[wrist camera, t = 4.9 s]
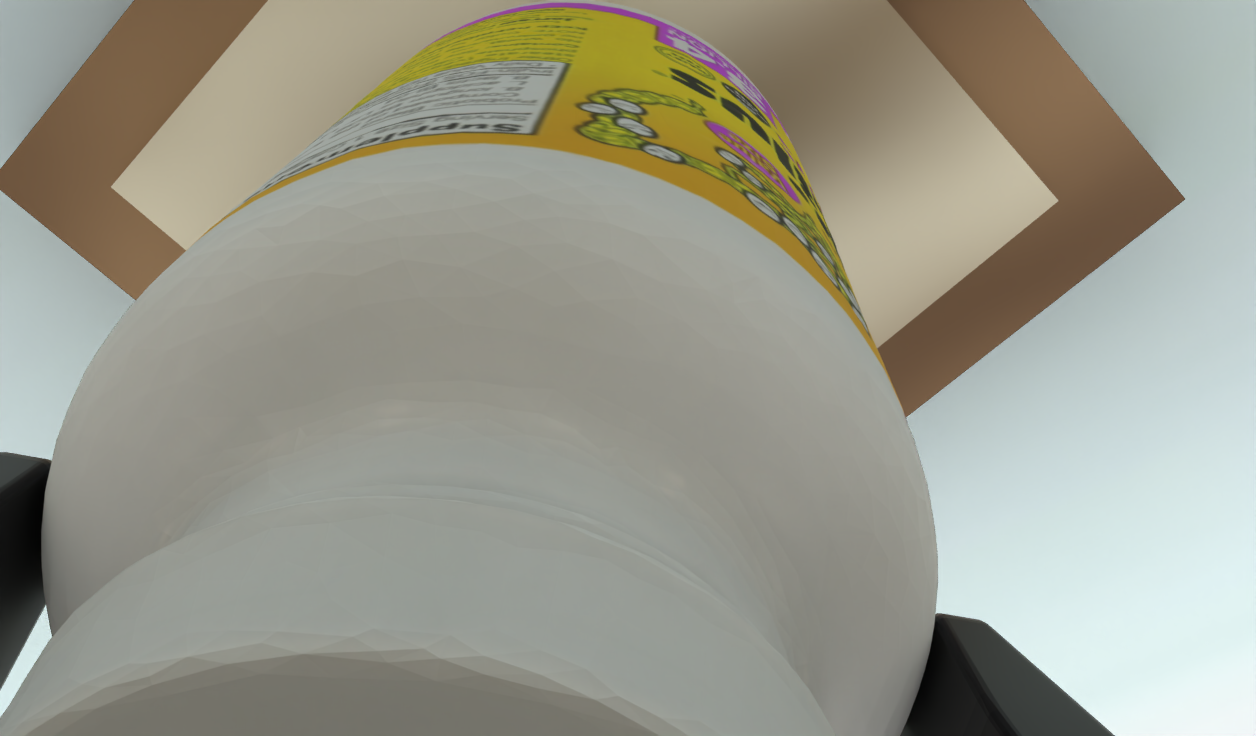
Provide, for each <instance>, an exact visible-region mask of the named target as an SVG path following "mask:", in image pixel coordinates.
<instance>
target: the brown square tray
mask: <svg viewBox="0 0 1256 736" xmlns="http://www.w3.org/2000/svg"><path fill="white" fill-rule="evenodd" d="M542 1H550V0H134V1H133V2H132V4H131V5H130V6H129V8H128V9H127V10H126V11H125V13H124V14H123V15H122V16H121V18H120V19H119V20H118V21H117V23H116V24H115V25H114V26H113V28H112V29H111V30H110V31H109V33H108V34H107V35H106V37H105V38H104V39H103V40H102V42H101V43H100V44H99V45H98V47H97V48H96V49H95V50H94V52H93V53H92V54H91V55H90V57H89V58H88V59H87V60H86V62H85V63H84V64H83V66H82V67H81V68H80V69H79V71H78V72H77V73H76V74H75V76H74V77H73V78H72V79H71V81H70V82H69V83H68V84H67V86H66V87H65V88H64V90H63V91H62V92H61V93H60V95H59V96H58V97H57V98H56V100H55V101H54V102H53V103H52V105H51V106H50V107H49V108H48V110H47V111H46V112H45V113H44V115H43V116H42V117H41V119H40V120H39V121H38V122H37V124H36V125H35V126H34V127H33V129H32V130H31V131H30V132H29V134H28V135H27V136H26V137H25V139H24V140H23V141H22V142H21V144H20V145H19V146H18V148H17V149H16V150H15V151H14V153H13V154H12V155H11V156H10V158H9V159H8V160H7V161H6V163H5V164H4V165H3V166H2V168H1V169H0V190H1V191H2V192H3V193H5V194H6V195H7V196H8V197H10V198H11V199H12V200H13V201H14V202H16V203H17V204H18V205H19V206H21V207H22V208H23V209H24V210H25V211H27V212H28V213H29V214H30V215H32V216H33V217H34V218H35V219H37V220H38V221H39V222H40V223H41V224H43V225H44V226H45V227H46V228H48V229H49V230H50V231H51V232H53V233H54V234H55V235H56V236H57V237H59V238H60V239H61V240H62V241H64V242H65V243H66V244H67V245H68V246H70V247H71V248H72V249H73V250H75V251H76V252H77V253H78V254H80V255H81V256H82V257H83V258H84V259H86V260H87V261H88V262H89V263H91V264H92V265H93V266H94V267H95V268H97V269H98V270H99V271H100V272H102V273H103V274H104V275H105V276H107V277H108V278H109V279H110V280H111V281H113V282H114V283H115V284H116V285H118V286H119V287H120V288H121V289H123V290H124V291H125V292H126V293H127V294H129V295H130V296H131V297H132V298H134V299H135V300H137V299H138V298H139V296H140V295H141V294H142V293H143V292H144V291H145V290H146V289H147V288H148V286H149V285H150V284H151V283H152V282H153V281H155V280H156V279H157V278H158V277H159V276H160V275H161V274H162V273H163V272H164V271H165V270H166V269H167V268H168V267H169V266H170V265H171V264H172V263H174V262H175V261H176V260H177V259H178V258H179V257H180V256H181V255H182V254H183V253H184V252H185V251H186V250H187V249H188V248H190V247H191V246H192V245H193V244H194V243H195V242H196V241H197V240H198V239H199V238H200V237H201V236H202V235H203V234H204V233H206V232H207V231H208V230H209V229H210V228H211V227H212V226H214V225H215V224H216V223H218V222H219V221H220V220H221V219H222V218H224V217H225V216H226V215H227V214H228V213H229V212H230V211H231V210H232V209H233V208H235V207H236V206H238V205H239V204H240V203H241V202H243V201H244V200H245V199H246V198H247V197H248V196H250V195H251V194H252V193H253V192H255V191H256V190H257V189H258V188H260V187H261V186H262V185H263V184H264V183H266V182H267V181H268V180H269V179H270V178H272V177H273V176H274V175H275V174H276V173H278V172H279V171H280V170H281V169H282V168H283V167H285V166H286V165H287V164H288V163H289V162H291V161H292V160H293V159H294V158H295V157H297V156H298V155H299V154H300V153H301V152H302V151H304V150H305V149H306V148H307V147H308V146H309V145H310V144H311V143H312V142H314V141H315V140H316V139H317V138H318V137H319V136H321V135H322V134H323V133H324V132H325V131H326V130H327V129H329V128H330V127H331V126H332V125H333V124H334V123H336V122H337V121H338V120H339V119H340V118H341V117H343V116H344V115H345V114H346V113H347V112H349V111H350V110H351V109H352V108H353V107H354V106H355V105H356V104H357V103H358V102H359V101H361V100H362V99H363V98H364V97H365V96H367V95H368V94H369V93H370V92H372V91H373V90H374V89H375V88H376V87H377V86H378V85H380V84H381V83H382V82H383V81H384V80H385V79H386V78H388V77H389V76H390V75H391V74H392V73H393V72H395V71H396V70H397V69H398V68H400V67H401V66H402V65H403V64H404V63H406V62H407V61H408V60H409V59H411V58H412V57H413V56H414V55H416V54H417V53H418V52H420V51H421V50H422V49H424V48H425V47H426V46H428V45H429V44H431V43H432V42H434V41H436V40H437V39H439V38H440V37H442V36H443V35H445V34H447V33H449V32H451V31H453V30H455V29H457V28H459V27H461V26H463V25H465V24H467V23H469V22H472V21H474V20H476V19H479V18H481V17H484V16H486V15H488V14H491V13H493V12H497V11H500V10H504V9H508V8H511V7H515V6H519V5H523V4H528V3H535V2H542ZM592 1H601V2H608V3H613V4H618V5H623V6H627V7H631V8H635V9H639V10H641V11H644V12H647V13H650V14H653V15H655V16H658V17H661V18H663V19H666V20H668V21H670V22H672V23H674V24H676V25H678V26H680V27H682V28H684V29H686V30H688V31H690V32H692V33H693V34H695V35H697V36H698V37H700V38H702V39H703V40H705V41H706V42H708V43H709V44H711V45H712V46H713V47H715V48H716V49H717V50H719V51H720V52H721V53H722V54H724V55H725V56H726V57H727V58H728V59H729V60H731V61H732V62H733V63H734V64H735V65H736V66H737V67H738V68H739V69H740V70H741V71H742V72H743V73H744V74H745V75H746V76H747V77H748V78H749V79H750V80H751V82H752V83H753V84H754V85H755V86H756V87H757V89H758V90H759V91H760V92H761V94H762V95H763V96H764V98H765V99H766V100H767V101H768V103H769V104H770V106H771V108H772V109H773V111H774V112H775V114H776V115H777V117H778V119H779V120H780V122H781V123H782V125H783V127H784V129H785V130H786V132H787V134H788V136H789V138H790V140H791V142H792V144H793V146H794V148H795V150H796V153H797V155H798V157H799V159H800V162H801V164H802V166H803V168H804V170H805V172H806V175H807V177H808V180H809V182H810V184H811V187H812V189H813V192H814V194H815V197H816V199H817V202H818V203H819V205H820V207H821V210H822V213H823V216H824V219H825V221H826V224H827V226H828V228H829V230H830V233H831V235H832V237H833V240H834V242H835V245H836V247H837V251H838V254H839V256H840V258H841V261H842V263H843V266H844V269H845V272H846V274H847V277H848V279H849V281H850V283H851V286H852V289H853V292H854V294H855V297H856V299H857V302H858V304H859V307H860V309H861V312H862V314H863V317H864V319H865V322H866V324H867V327H868V329H869V332H870V334H871V336H872V338H873V341H874V343H875V345H876V347H877V350H878V352H879V354H880V356H881V359H882V361H883V363H884V365H885V368H886V370H887V372H888V375H889V377H890V380H891V382H892V384H893V387H894V389H895V391H896V394H897V396H898V398H899V401H900V403H901V405H902V408H903V411H904V414H905V417H907V416H908V415H910V414H911V413H912V412H914V411H915V410H916V409H917V408H919V407H920V406H921V405H922V404H924V403H925V402H926V401H928V400H929V399H930V398H931V397H933V396H934V395H935V394H937V393H938V392H939V391H940V390H942V389H943V388H944V387H946V386H947V385H948V384H949V383H951V382H952V381H953V380H954V379H956V378H957V377H958V376H960V375H961V374H962V373H963V372H965V371H966V370H967V369H969V368H970V367H971V366H972V365H974V364H975V363H976V362H978V361H979V360H980V359H981V358H983V357H984V356H985V355H987V354H988V353H989V352H990V351H992V350H993V349H994V348H995V347H997V346H998V345H999V344H1001V343H1002V342H1003V341H1004V340H1006V339H1007V338H1008V337H1010V336H1011V335H1012V334H1013V333H1015V332H1016V331H1017V330H1019V329H1020V328H1021V327H1022V326H1024V325H1025V324H1026V323H1027V322H1029V321H1030V320H1031V319H1033V318H1034V317H1035V316H1036V315H1038V314H1039V313H1040V312H1042V311H1043V310H1044V309H1045V308H1047V307H1048V306H1049V305H1051V304H1052V303H1053V302H1054V301H1056V300H1057V299H1058V298H1059V297H1061V296H1062V295H1063V294H1065V293H1066V292H1067V291H1068V290H1070V289H1071V288H1072V287H1074V286H1075V285H1076V284H1077V283H1079V282H1080V281H1081V280H1083V279H1084V278H1085V277H1086V276H1088V275H1089V274H1090V273H1092V272H1093V271H1094V270H1095V269H1097V268H1098V267H1099V266H1100V265H1102V264H1103V263H1104V262H1106V261H1107V260H1108V259H1109V258H1111V257H1112V256H1113V255H1115V254H1116V253H1117V252H1118V251H1120V250H1121V249H1122V248H1124V247H1125V246H1126V245H1127V244H1129V243H1130V242H1131V241H1132V240H1134V239H1135V238H1136V237H1138V236H1139V235H1140V234H1141V233H1143V232H1144V231H1145V230H1147V229H1148V228H1149V227H1150V226H1152V225H1153V224H1154V223H1156V222H1157V221H1158V220H1159V219H1161V218H1162V217H1163V216H1164V215H1166V214H1167V213H1168V212H1170V211H1171V210H1172V209H1173V208H1175V207H1176V206H1177V205H1179V204H1180V203H1181V202H1182V201H1184V200H1185V198H1184V197H1183V196H1182V194H1181V193H1180V192H1179V191H1178V189H1177V188H1176V187H1175V186H1174V185H1173V183H1172V182H1171V181H1170V180H1169V178H1168V177H1167V176H1166V175H1165V173H1164V172H1163V171H1162V170H1161V169H1160V167H1159V166H1158V165H1157V164H1156V162H1155V161H1154V160H1153V159H1152V157H1151V156H1150V155H1149V154H1148V152H1147V151H1146V150H1145V149H1144V148H1143V146H1142V145H1141V144H1140V143H1139V141H1138V140H1137V139H1136V138H1135V136H1134V135H1133V134H1132V133H1131V132H1130V130H1129V129H1128V128H1127V127H1126V125H1125V124H1124V123H1123V122H1122V120H1121V119H1120V118H1119V117H1118V116H1117V114H1116V113H1115V112H1114V111H1113V109H1112V108H1111V107H1110V106H1109V104H1108V103H1107V102H1106V101H1105V100H1104V98H1103V97H1102V96H1101V95H1100V93H1099V92H1098V91H1097V90H1096V88H1095V87H1094V86H1093V85H1092V83H1091V82H1090V81H1089V80H1088V79H1087V77H1086V76H1085V75H1084V74H1083V72H1082V71H1081V70H1080V69H1079V67H1078V66H1077V65H1076V64H1075V63H1074V61H1073V60H1072V59H1071V58H1070V56H1069V55H1068V54H1067V53H1066V51H1065V50H1064V49H1063V48H1062V47H1061V45H1060V44H1059V43H1058V42H1057V40H1056V39H1055V38H1054V37H1053V35H1052V34H1051V33H1050V32H1049V31H1048V29H1047V28H1046V27H1045V26H1044V24H1043V23H1042V22H1041V21H1040V19H1039V18H1038V17H1037V16H1036V14H1035V13H1034V12H1033V11H1032V10H1031V8H1030V7H1029V6H1028V5H1027V3H1026V2H1025V1H1024V0H592Z"/></svg>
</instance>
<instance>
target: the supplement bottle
mask: <svg viewBox="0 0 1256 736" xmlns="http://www.w3.org/2000/svg"><path fill="white" fill-rule="evenodd" d="M41 561H42V576H43V588H44V595H45V601H46V606H47V612H48V618H49V623H50V629H51V633H52V638H51V639H50V641H49V642H48V644H47V645H46V647H45V648H44V650H43V651H42V653H41V655H40V656H39V658H38V659H37V661H36V662H35V664H34V665H33V667H32V669H31V670H30V672H29V673H28V675H27V677H26V678H25V680H24V682H23V683H22V685H21V687H20V688H19V690H18V692H17V693H16V695H15V697H14V698H13V700H12V701H11V703H10V705H9V706H8V708H7V709H6V710H5V712H4V713H3V715H2V716H1V718H0V736H900V735H901V733H902V730H903V728H904V726H905V724H906V722H907V719H908V717H909V714H910V711H911V709H912V706H913V704H914V701H915V698H916V696H917V693H918V691H919V688H920V684H921V681H922V678H923V674H924V671H925V668H926V664H927V660H928V656H929V652H930V648H931V642H932V636H933V630H934V623H935V612H936V599H937V587H938V556H937V544H936V534H935V526H934V520H933V514H932V508H931V501H930V496H929V490H928V485H927V481H926V478H925V475H924V471H923V468H922V465H921V461H920V458H919V455H918V451H917V448H916V445H915V441H914V438H913V436H912V434H911V431H910V429H909V426H908V423H907V420H906V417H905V414H904V411H903V408H902V405H901V403H900V401H899V398H898V396H897V394H896V391H895V389H894V387H893V384H892V382H891V380H890V377H889V375H888V372H887V370H886V368H885V365H884V363H883V361H882V359H881V356H880V354H879V352H878V350H877V347H876V345H875V343H874V341H873V338H872V336H871V334H870V332H869V329H868V327H867V324H866V322H865V319H864V317H863V314H862V312H861V309H860V307H859V304H858V302H857V299H856V297H855V294H854V292H853V289H852V286H851V283H850V281H849V279H848V277H847V274H846V272H845V269H844V266H843V263H842V261H841V258H840V256H839V254H838V251H837V247H836V245H835V242H834V240H833V237H832V235H831V233H830V230H829V228H828V226H827V224H826V221H825V219H824V216H823V213H822V210H821V207H820V205H819V203H818V202H817V199H816V197H815V194H814V192H813V189H812V187H811V184H810V182H809V180H808V177H807V175H806V172H805V170H804V168H803V166H802V164H801V162H800V159H799V157H798V155H797V153H796V150H795V148H794V146H793V144H792V142H791V140H790V138H789V136H788V134H787V132H786V130H785V129H784V127H783V125H782V123H781V122H780V120H779V119H778V117H777V115H776V114H775V112H774V111H773V109H772V108H771V106H770V104H769V103H768V101H767V100H766V99H765V98H764V96H763V95H762V94H761V92H760V91H759V90H758V89H757V87H756V86H755V85H754V84H753V83H752V82H751V80H750V79H749V78H748V77H747V76H746V75H745V74H744V73H743V72H742V71H741V70H740V69H739V68H738V67H737V66H736V65H735V64H734V63H733V62H732V61H731V60H729V59H728V58H727V57H726V56H725V55H724V54H722V53H721V52H720V51H719V50H717V49H716V48H715V47H713V46H712V45H711V44H709V43H708V42H706V41H705V40H703V39H702V38H700V37H698V36H697V35H695V34H693V33H692V32H690V31H688V30H686V29H684V28H682V27H680V26H678V25H676V24H674V23H672V22H670V21H668V20H666V19H663V18H661V17H658V16H655V15H653V14H650V13H647V12H644V11H641V10H639V9H635V8H631V7H627V6H623V5H618V4H613V3H608V2H601V1H592V0H550V1H542V2H535V3H528V4H523V5H519V6H515V7H511V8H508V9H504V10H500V11H497V12H493V13H491V14H488V15H486V16H484V17H481V18H479V19H476V20H474V21H472V22H469V23H467V24H465V25H463V26H461V27H459V28H457V29H455V30H453V31H451V32H449V33H447V34H445V35H443V36H442V37H440V38H439V39H437V40H436V41H434V42H432V43H431V44H429V45H428V46H426V47H425V48H424V49H422V50H421V51H420V52H418V53H417V54H416V55H414V56H413V57H412V58H411V59H409V60H408V61H407V62H406V63H404V64H403V65H402V66H401V67H400V68H398V69H397V70H396V71H395V72H393V73H392V74H391V75H390V76H389V77H388V78H386V79H385V80H384V81H383V82H382V83H381V84H380V85H378V86H377V87H376V88H375V89H374V90H373V91H372V92H370V93H369V94H368V95H367V96H365V97H364V98H363V99H362V100H361V101H359V102H358V103H357V104H356V105H355V106H354V107H353V108H352V109H351V110H350V111H349V112H347V113H346V114H345V115H344V116H343V117H341V118H340V119H339V120H338V121H337V122H336V123H334V124H333V125H332V126H331V127H330V128H329V129H327V130H326V131H325V132H324V133H323V134H322V135H321V136H319V137H318V138H317V139H316V140H315V141H314V142H312V143H311V144H310V145H309V146H308V147H307V148H306V149H305V150H304V151H302V152H301V153H300V154H299V155H298V156H297V157H295V158H294V159H293V160H292V161H291V162H289V163H288V164H287V165H286V166H285V167H283V168H282V169H281V170H280V171H279V172H278V173H276V174H275V175H274V176H273V177H272V178H270V179H269V180H268V181H267V182H266V183H264V184H263V185H262V186H261V187H260V188H258V189H257V190H256V191H255V192H253V193H252V194H251V195H250V196H248V197H247V198H246V199H245V200H244V201H243V202H241V203H240V204H239V205H238V206H236V207H235V208H233V209H232V210H231V211H230V212H229V213H228V214H227V215H226V216H225V217H224V218H222V219H221V220H220V221H219V222H218V223H216V224H215V225H214V226H212V227H211V228H210V229H209V230H208V231H207V232H206V233H204V234H203V235H202V236H201V237H200V238H199V239H198V240H197V241H196V242H195V243H194V244H193V245H192V246H191V247H190V248H188V249H187V250H186V251H185V252H184V253H183V254H182V255H181V256H180V257H179V258H178V259H177V260H176V261H175V262H174V263H172V264H171V265H170V266H169V267H168V268H167V269H166V270H165V271H164V272H163V273H162V274H161V275H160V276H159V277H158V278H157V279H156V280H155V281H153V282H152V283H151V284H150V285H149V286H148V288H147V289H146V290H145V291H144V292H143V293H142V294H141V295H140V296H139V298H138V299H137V300H136V301H135V302H134V303H133V304H132V305H131V307H130V308H129V309H128V310H127V311H126V312H125V313H124V314H123V316H122V317H121V319H120V320H119V321H118V323H117V324H116V326H115V327H114V329H113V330H112V331H111V333H110V334H109V336H108V337H107V339H106V340H105V341H104V343H103V344H102V346H101V347H100V349H99V350H98V352H97V353H96V355H95V356H94V358H93V359H92V361H91V362H90V364H89V366H88V367H87V369H86V371H85V373H84V375H83V377H82V379H81V382H80V384H79V386H78V388H77V390H76V393H75V395H74V397H73V399H72V401H71V404H70V406H69V408H68V410H67V413H66V416H65V419H64V421H63V424H62V427H61V429H60V432H59V435H58V437H57V441H56V445H55V449H54V454H53V458H52V463H51V467H50V471H49V476H48V480H47V484H46V489H45V496H44V507H43V518H42V528H41Z"/></svg>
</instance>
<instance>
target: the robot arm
mask: <svg viewBox="0 0 1256 736" xmlns="http://www.w3.org/2000/svg"><path fill="white" fill-rule="evenodd" d="M51 463H52V461H51V460H48V459H42V458H37V457H31V456H25V455H19V454H14V453H8V452H0V690H1V688H2V686H3V685H4V683H5V681H6V679H7V677H8V675H9V673H10V671H11V669H12V668H13V666H14V664H15V662H16V660H17V658H18V656H19V654H20V652H21V651H22V649H23V647H24V645H25V643H26V641H27V639H28V637H29V635H30V634H31V632H32V630H33V628H34V626H35V624H36V622H37V620H38V618H39V617H40V615H41V613H42V611H43V609H44V607H45V605H46V601H45V595H44V588H43V576H42V561H41V528H42V518H43V507H44V496H45V489H46V484H47V480H48V476H49V471H50V467H51ZM900 736H1115V735H1113V734H1112V733H1111V732H1110V731H1109V730H1108V729H1107V728H1105V727H1104V726H1103V725H1102V724H1101V723H1100V722H1099V721H1097V720H1096V719H1095V718H1094V717H1093V716H1092V715H1091V714H1089V713H1088V712H1087V711H1086V710H1085V709H1084V708H1083V707H1082V706H1080V705H1079V704H1078V703H1077V702H1076V701H1075V700H1074V699H1072V698H1071V697H1070V696H1069V695H1068V694H1067V693H1066V692H1064V691H1063V690H1062V689H1061V688H1060V687H1059V686H1058V685H1056V684H1055V683H1054V682H1053V681H1052V680H1051V679H1050V678H1048V677H1047V676H1046V675H1045V674H1044V673H1043V672H1042V671H1041V670H1039V669H1038V668H1037V667H1036V666H1035V665H1034V664H1033V663H1031V662H1030V661H1029V660H1028V659H1027V658H1026V657H1025V656H1023V655H1022V654H1021V653H1020V652H1019V651H1018V650H1017V649H1015V648H1014V647H1013V646H1012V645H1011V644H1010V643H1009V642H1007V641H1006V640H1005V639H1004V638H1003V637H1002V636H1001V635H1000V634H998V633H997V632H996V631H995V630H994V629H993V628H992V627H990V626H989V625H988V624H987V623H985V622H983V621H981V620H977V619H971V618H965V617H959V616H953V615H947V614H941V613H937V614H935V623H934V630H933V636H932V642H931V648H930V652H929V656H928V660H927V664H926V668H925V671H924V674H923V678H922V681H921V684H920V688H919V691H918V693H917V696H916V698H915V701H914V704H913V706H912V709H911V711H910V714H909V717H908V719H907V722H906V724H905V726H904V728H903V730H902V733H901V735H900Z"/></svg>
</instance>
